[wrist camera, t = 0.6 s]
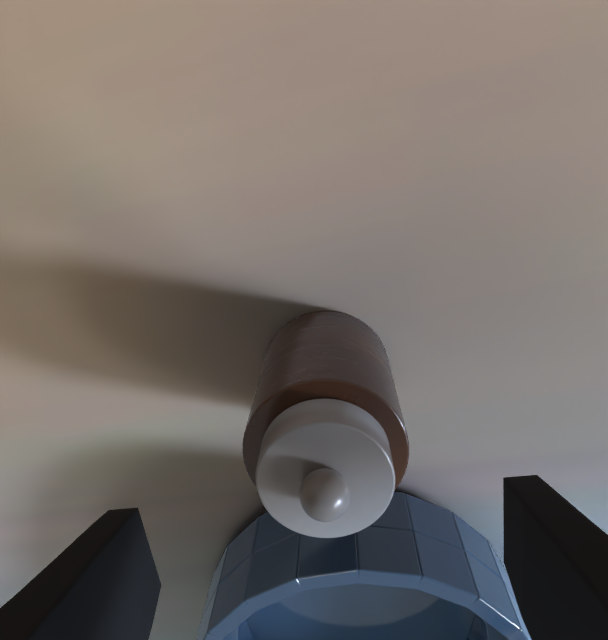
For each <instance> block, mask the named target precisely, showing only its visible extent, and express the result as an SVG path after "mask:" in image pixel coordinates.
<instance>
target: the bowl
mask: <svg viewBox="0 0 608 640" xmlns="http://www.w3.org/2000/svg"><path fill="white" fill-rule="evenodd" d="M196 640H531V637H530V635H529V633H528V631H527V628H526V626H525V624H524V621H523V619H522V617H521V614H520V611H519V608H518V605H517V601H516V598H515V595H514V592H513V589H512V586H511V583H510V580H509V576H508V573H507V571H506V570H505V568H504V566H503V565H502V563H501V561H500V560H499V558H498V556H497V555H496V553H495V551H494V550H493V548H492V546H491V545H490V543H489V541H488V540H487V539H486V538H484V537H483V536H482V535H481V534H479V533H478V532H477V531H476V530H474V529H473V528H472V527H471V526H469V525H468V524H467V523H466V522H464V521H463V520H462V519H461V518H459V517H458V516H457V515H456V514H454V513H453V512H451V511H450V510H447V509H445V508H442V507H439V506H437V505H434V504H432V503H429V502H427V501H424V500H421V499H419V498H416V497H414V496H411V495H408V494H404V493H401V492H394V493H393V497H392V499H391V501H390V503H389V505H388V507H387V508H386V510H385V512H384V513H383V514H382V515H381V516H380V517H379V518H378V519H377V520H376V521H375V522H374V523H372V524H371V525H369V526H368V527H366V528H365V529H363V530H361V531H359V532H356V533H353V534H351V535H347V536H343V537H336V538H318V537H311V536H307V535H303V534H300V533H297V532H295V531H292V530H290V529H289V528H287V527H285V526H283V525H282V524H280V523H279V522H278V521H277V520H275V519H274V518H273V517H272V516H271V515H270V514H269V512H267V513H265V514H263V515H261V516H260V517H258V518H257V519H256V520H255V521H253V522H252V523H251V524H250V525H249V526H248V527H247V528H246V529H245V530H244V531H243V532H242V533H241V534H240V535H238V536H237V537H236V538H235V539H234V540H233V541H232V542H231V543H230V544H229V545H228V546H227V548H226V550H225V552H224V554H223V556H222V558H221V561H220V563H219V565H218V567H217V569H216V571H215V573H214V575H213V577H212V581H211V584H210V588H209V592H208V596H207V600H206V604H205V608H204V611H203V615H202V619H201V623H200V627H199V631H198V635H197V639H196Z"/></svg>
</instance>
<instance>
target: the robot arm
mask: <svg viewBox="0 0 608 640" xmlns="http://www.w3.org/2000/svg"><path fill="white" fill-rule="evenodd" d="M504 564H505V567H506V570H507V573H508V576H509V580H510V583H511V586H512V589H513V592H514V595H515V598H516V601H517V605H518V608H519V611H520V614H521V617H522V619H523V621H524V624H525V626H526V628H527V631H528V633H529V635H530V637H531V640H608V535H607V534H606V533H605V532H604V531H602V530H601V529H600V528H599V527H597V526H596V525H595V524H594V523H593V522H591V521H590V520H589V519H588V518H587V517H586V516H584V515H583V514H582V513H581V512H580V511H578V510H577V509H576V508H575V507H574V506H573V505H571V504H570V503H569V502H568V501H567V500H566V499H564V498H563V497H562V496H561V495H560V494H559V493H557V492H556V491H555V490H554V489H553V488H552V487H550V486H549V485H548V484H547V483H546V482H545V481H543V480H542V479H541V478H540V477H539V476H537V475H531V476H519V477H506V478H504ZM160 588H161V583H160V580H159V576H158V573H157V570H156V566H155V563H154V560H153V557H152V553H151V550H150V547H149V543H148V540H147V537H146V533H145V530H144V527H143V523H142V520H141V517H140V513H139V510H138V508H129V509H117V510H109V511H107V512H106V513H105V514H104V515H103V516H101V517H100V518H99V519H98V520H97V521H96V522H95V523H93V524H92V525H91V526H90V527H89V528H88V529H87V530H86V531H85V532H84V533H83V534H81V535H80V536H79V537H78V538H77V539H76V540H75V541H74V542H73V543H72V544H71V545H70V546H68V547H67V548H66V549H65V550H64V551H63V552H62V553H61V554H60V555H59V556H58V557H57V558H56V559H55V560H53V561H52V562H51V563H50V564H49V565H48V566H47V567H46V568H45V569H44V570H42V571H41V572H40V573H39V574H38V575H37V576H36V577H35V578H34V579H33V580H32V581H30V582H29V583H28V584H27V585H26V586H25V587H24V588H23V589H22V590H21V591H20V592H18V593H17V594H16V595H15V596H14V597H13V598H12V599H10V600H9V601H8V602H7V603H6V604H5V605H3V606H2V607H1V608H0V640H148V639H149V635H150V631H151V627H152V623H153V619H154V615H155V611H156V606H157V601H158V597H159V592H160Z"/></svg>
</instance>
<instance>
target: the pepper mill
mask: <svg viewBox="0 0 608 640" xmlns="http://www.w3.org/2000/svg"><path fill="white" fill-rule="evenodd" d="M243 458H244V463H245V466H246V470H247V472H248V474H249V476H250V478H251V480H252V482H253V483H254V485H255V486H256V488H257V492H258V495H259V497H260V500H261V502H262V504H263V505H264V507H265V508H266V510H267V511H268V512H269V514H270V515H271V516H272V517H273V518H274V519H275V520H277V521H278V522H279V523H280V524H282V525H283V526H285V527H287V528H289V529H290V530H292V531H295V532H297V533H300V534H303V535H307V536H311V537H318V538H336V537H343V536H347V535H351V534H353V533H356V532H359V531H361V530H363V529H365V528H366V527H368V526H369V525H371V524H372V523H374V522H375V521H376V520H377V519H378V518H379V517H380V516H381V515H382V514H383V513H384V512H385V510H386V508H387V507H388V505H389V503H390V501H391V499H392V497H393V493H394V490H395V489H396V488H397V486H398V485H399V483H400V482H401V480H402V478H403V476H404V474H405V471H406V468H407V464H408V458H409V442H408V436H407V432H406V428H405V424H404V420H403V417H402V413H401V409H400V405H399V401H398V397H397V393H396V389H395V385H394V381H393V377H392V374H391V370H390V366H389V362H388V358H387V354H386V351H385V348H384V346H383V344H382V342H381V340H380V339H379V337H378V336H377V334H376V333H375V332H374V331H373V330H372V329H371V328H370V327H369V326H367V325H366V324H365V323H363V322H362V321H360V320H359V319H357V318H355V317H352V316H350V315H347V314H344V313H339V312H333V311H319V312H313V313H308V314H305V315H302V316H300V317H298V318H296V319H294V320H292V321H290V322H289V323H287V324H286V325H285V326H284V327H283V328H281V329H280V331H279V332H278V333H277V334H276V335H275V337H274V338H273V340H272V341H271V343H270V345H269V347H268V350H267V353H266V357H265V360H264V364H263V368H262V371H261V375H260V379H259V382H258V386H257V389H256V393H255V397H254V400H253V404H252V407H251V411H250V415H249V418H248V422H247V426H246V429H245V433H244V438H243Z"/></svg>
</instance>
